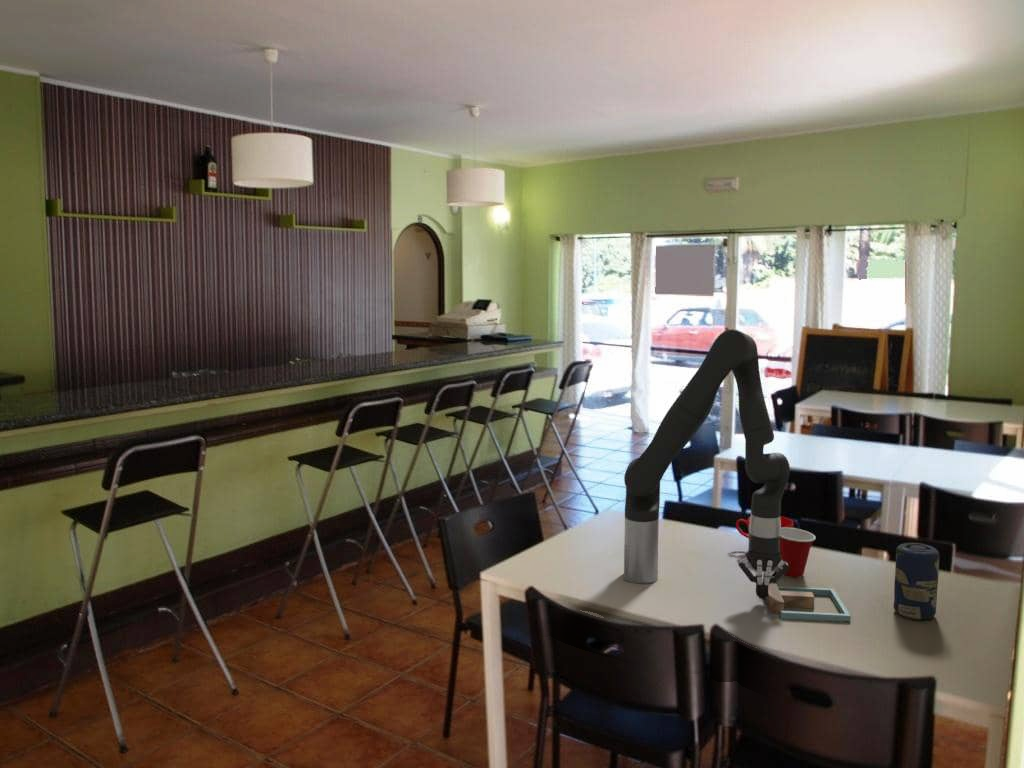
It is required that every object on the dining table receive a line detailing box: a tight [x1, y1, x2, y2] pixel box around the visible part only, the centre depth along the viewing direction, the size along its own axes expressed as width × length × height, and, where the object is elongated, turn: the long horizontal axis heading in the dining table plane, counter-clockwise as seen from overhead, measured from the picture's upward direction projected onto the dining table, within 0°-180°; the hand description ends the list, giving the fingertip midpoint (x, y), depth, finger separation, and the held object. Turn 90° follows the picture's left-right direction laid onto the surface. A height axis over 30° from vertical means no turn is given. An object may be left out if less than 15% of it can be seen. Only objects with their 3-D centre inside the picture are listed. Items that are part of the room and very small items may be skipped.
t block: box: [765, 583, 815, 615], centre depth 208 cm, size 11×12×3 cm
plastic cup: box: [780, 527, 816, 579], centre depth 228 cm, size 11×11×12 cm
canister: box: [893, 542, 940, 620], centre depth 200 cm, size 10×10×18 cm
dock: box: [777, 585, 852, 622], centre depth 207 cm, size 16×17×2 cm
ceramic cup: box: [735, 515, 794, 540], centre depth 246 cm, size 13×17×10 cm
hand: (761, 597), depth 208 cm, fingers closed
